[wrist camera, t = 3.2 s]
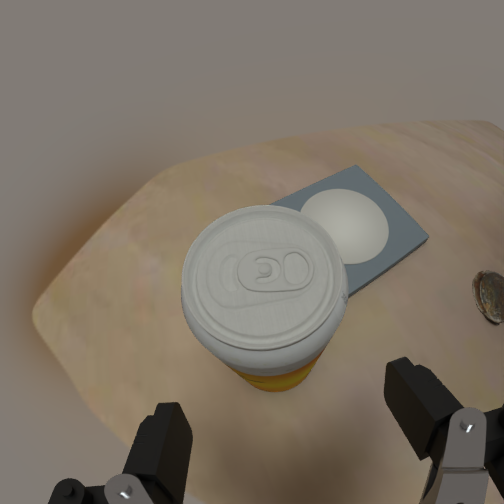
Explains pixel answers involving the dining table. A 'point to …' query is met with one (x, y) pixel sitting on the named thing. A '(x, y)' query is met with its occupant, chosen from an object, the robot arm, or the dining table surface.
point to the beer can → (265, 293)
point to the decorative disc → (490, 295)
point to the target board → (359, 223)
